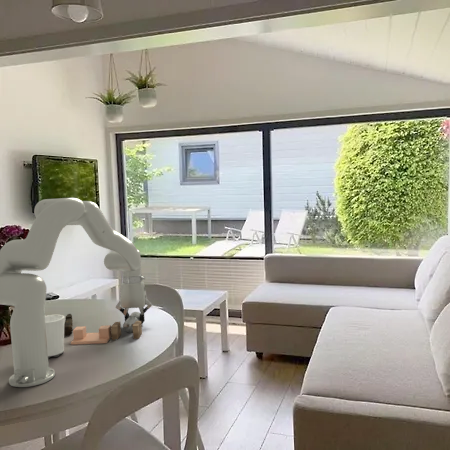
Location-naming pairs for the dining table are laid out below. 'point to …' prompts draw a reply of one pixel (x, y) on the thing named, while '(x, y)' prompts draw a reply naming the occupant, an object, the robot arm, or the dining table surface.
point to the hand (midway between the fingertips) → (134, 323)
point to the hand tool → (68, 325)
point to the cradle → (91, 335)
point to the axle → (131, 321)
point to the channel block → (117, 330)
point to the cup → (55, 334)
